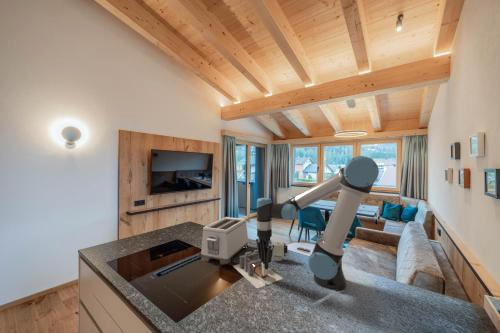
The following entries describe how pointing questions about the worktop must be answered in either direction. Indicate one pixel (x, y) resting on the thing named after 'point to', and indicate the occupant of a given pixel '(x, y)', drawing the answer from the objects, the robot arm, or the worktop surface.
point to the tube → (256, 269)
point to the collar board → (252, 276)
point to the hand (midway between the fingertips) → (265, 274)
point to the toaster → (224, 239)
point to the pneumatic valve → (279, 250)
